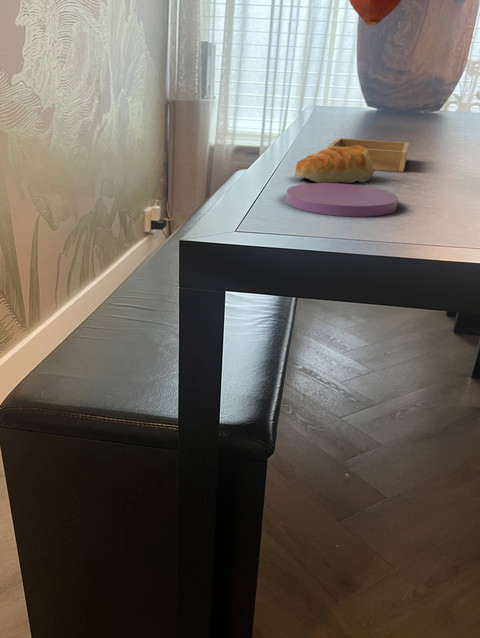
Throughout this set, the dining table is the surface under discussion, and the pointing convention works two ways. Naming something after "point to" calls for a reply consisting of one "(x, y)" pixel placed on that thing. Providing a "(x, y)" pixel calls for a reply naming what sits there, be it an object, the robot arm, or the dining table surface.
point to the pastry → (337, 165)
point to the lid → (341, 199)
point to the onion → (374, 9)
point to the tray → (380, 152)
